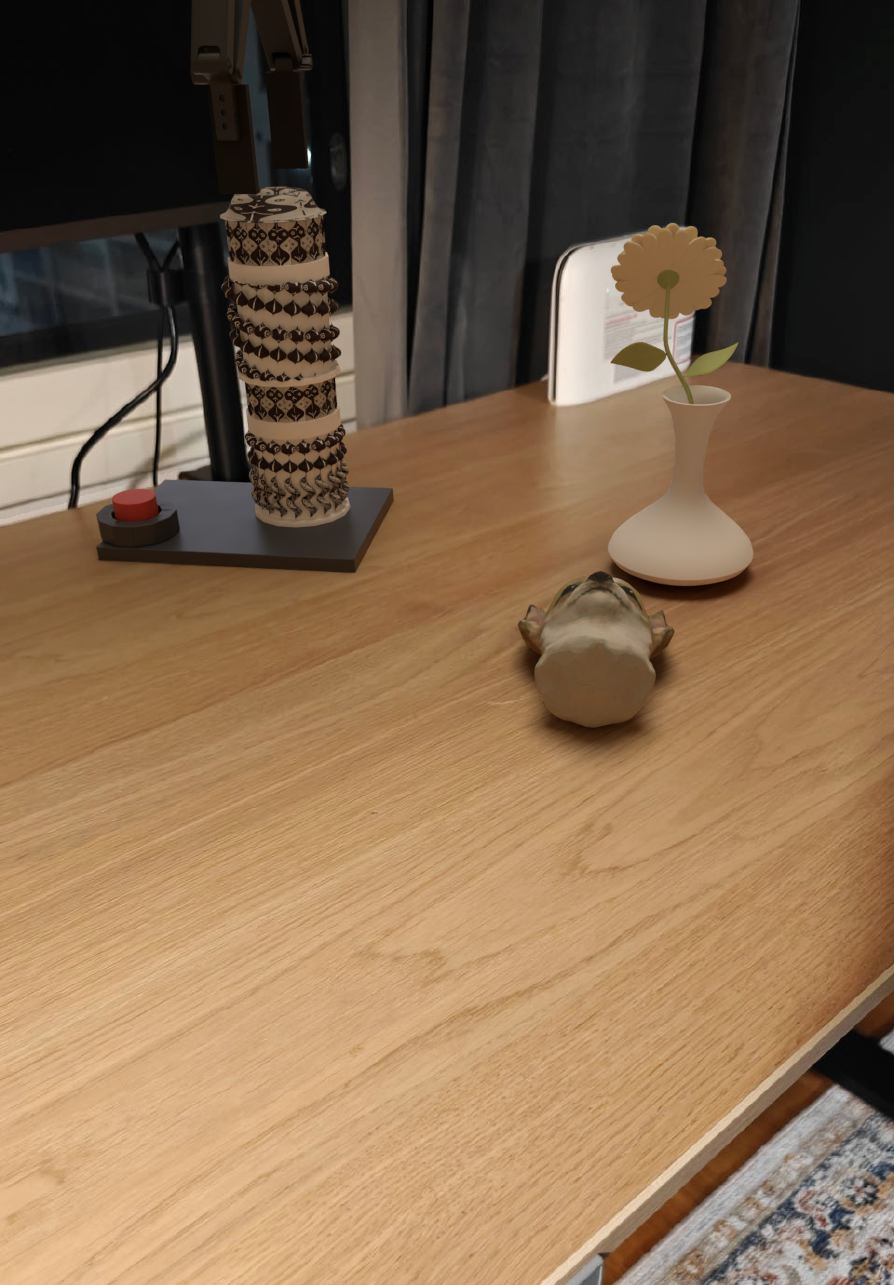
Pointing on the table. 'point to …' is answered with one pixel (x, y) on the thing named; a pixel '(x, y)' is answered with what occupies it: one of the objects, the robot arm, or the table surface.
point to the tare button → (135, 505)
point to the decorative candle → (287, 355)
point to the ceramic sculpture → (595, 650)
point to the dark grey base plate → (240, 530)
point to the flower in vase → (678, 417)
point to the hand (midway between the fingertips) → (267, 181)
